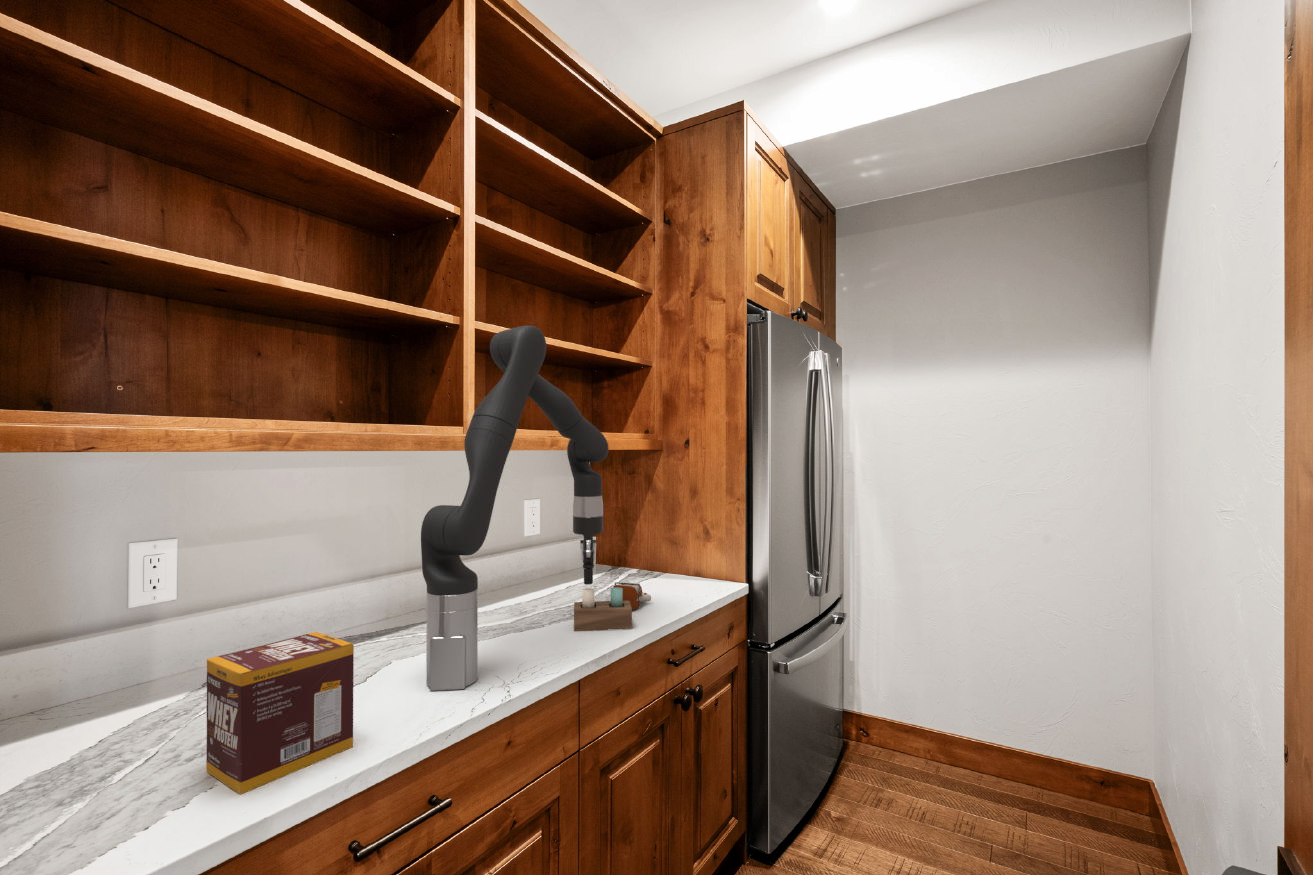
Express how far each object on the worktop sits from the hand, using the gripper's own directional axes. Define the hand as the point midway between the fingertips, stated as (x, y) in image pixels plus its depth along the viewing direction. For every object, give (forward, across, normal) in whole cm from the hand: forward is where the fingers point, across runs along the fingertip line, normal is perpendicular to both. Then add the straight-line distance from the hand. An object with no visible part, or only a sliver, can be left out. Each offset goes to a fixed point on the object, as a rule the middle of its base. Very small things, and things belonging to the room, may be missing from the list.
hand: (588, 583), depth 153 cm
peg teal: (+6, 0, +7) cm, 10 cm away
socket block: (+10, 0, +4) cm, 11 cm away
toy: (+11, -19, +12) cm, 25 cm away
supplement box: (+10, +60, -44) cm, 75 cm away
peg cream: (+6, 0, 0) cm, 6 cm away
